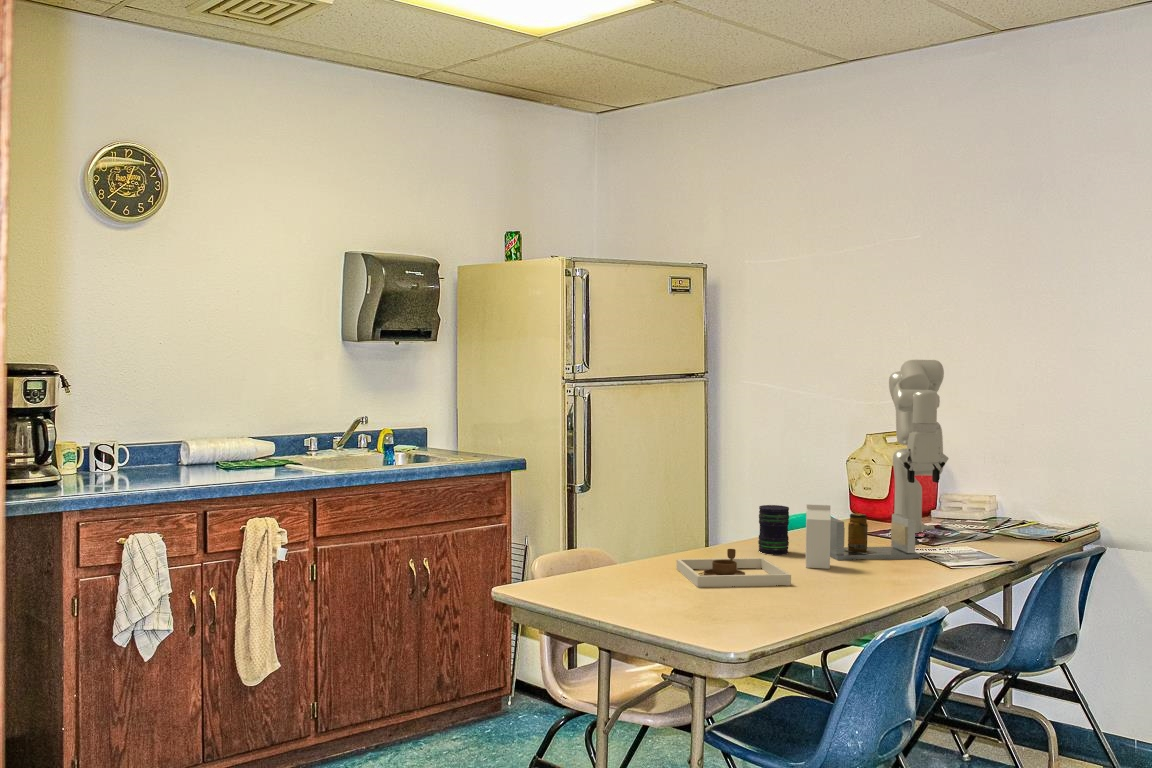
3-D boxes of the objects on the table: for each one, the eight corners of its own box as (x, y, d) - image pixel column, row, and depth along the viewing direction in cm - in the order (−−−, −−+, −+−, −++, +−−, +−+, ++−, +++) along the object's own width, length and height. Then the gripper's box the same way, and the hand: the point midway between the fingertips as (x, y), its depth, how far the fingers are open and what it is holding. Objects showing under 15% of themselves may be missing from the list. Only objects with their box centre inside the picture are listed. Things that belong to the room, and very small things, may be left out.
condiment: (855, 548, 349) (856, 512, 348) (877, 552, 342) (877, 515, 342) (841, 550, 344) (842, 514, 344) (863, 554, 337) (864, 517, 337)
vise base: (901, 550, 353) (901, 515, 353) (920, 558, 339) (921, 521, 339) (821, 552, 349) (821, 515, 349) (837, 560, 335) (837, 522, 335)
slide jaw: (909, 545, 352) (910, 513, 352) (926, 552, 341) (927, 519, 340) (889, 546, 351) (890, 513, 351) (905, 552, 340) (906, 519, 339)
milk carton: (829, 569, 321) (830, 506, 320) (805, 568, 322) (806, 506, 322) (828, 564, 328) (830, 503, 327) (805, 563, 329) (806, 502, 329)
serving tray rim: (763, 567, 322) (763, 557, 322) (791, 585, 297) (791, 574, 297) (676, 569, 318) (676, 559, 318) (697, 587, 294) (697, 576, 294)
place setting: (686, 576, 307) (687, 556, 307) (728, 567, 321) (729, 548, 321) (735, 586, 294) (736, 565, 294) (777, 576, 308) (777, 556, 308)
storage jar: (794, 554, 345) (795, 508, 345) (768, 556, 342) (769, 509, 341) (777, 548, 354) (778, 504, 354) (752, 550, 351) (753, 505, 350)
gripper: (944, 428, 351) (942, 480, 351) (894, 427, 348) (893, 481, 349) (955, 429, 343) (954, 483, 344) (904, 429, 341) (903, 483, 341)
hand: (923, 482), depth 346 cm, fingers open, 7 cm apart
